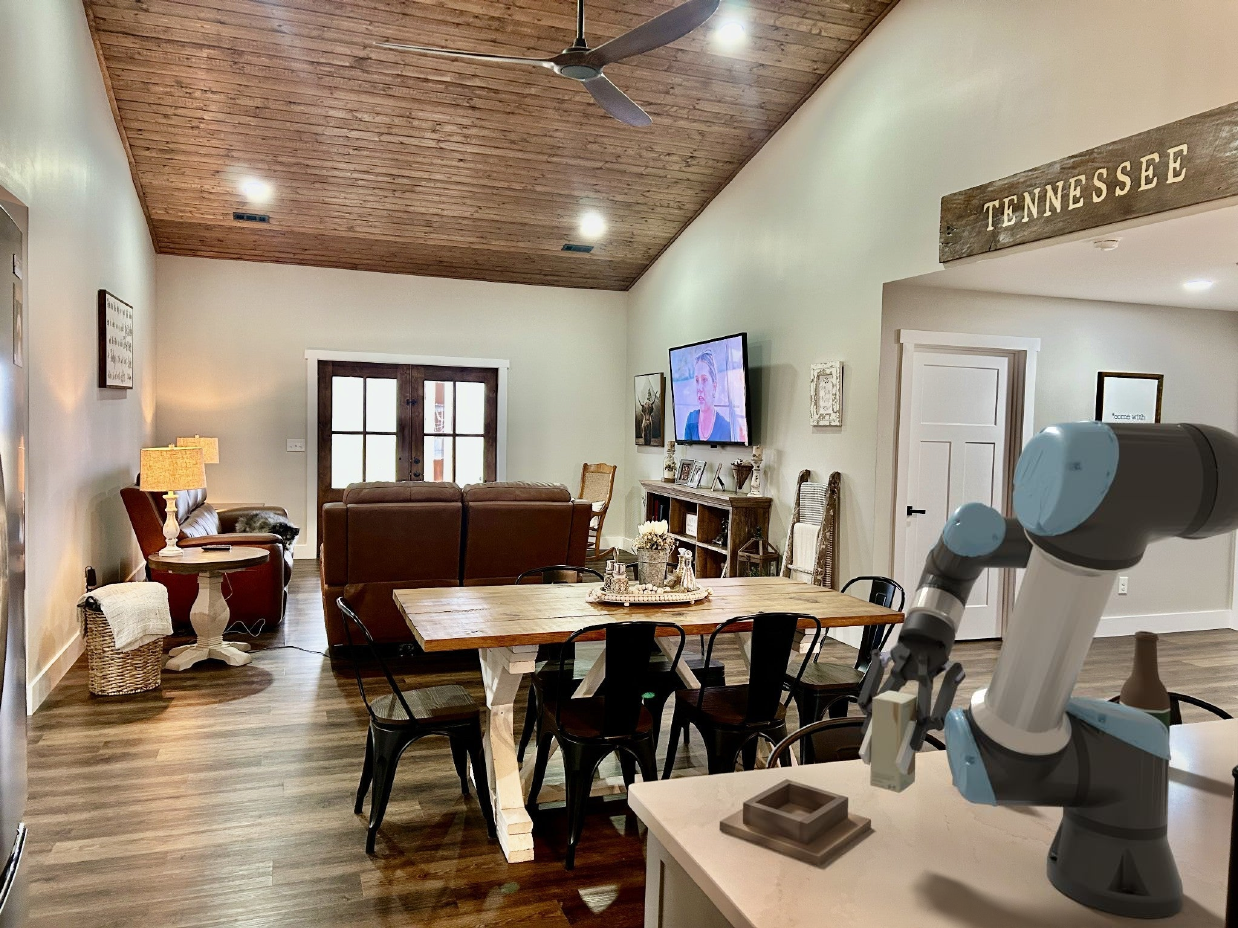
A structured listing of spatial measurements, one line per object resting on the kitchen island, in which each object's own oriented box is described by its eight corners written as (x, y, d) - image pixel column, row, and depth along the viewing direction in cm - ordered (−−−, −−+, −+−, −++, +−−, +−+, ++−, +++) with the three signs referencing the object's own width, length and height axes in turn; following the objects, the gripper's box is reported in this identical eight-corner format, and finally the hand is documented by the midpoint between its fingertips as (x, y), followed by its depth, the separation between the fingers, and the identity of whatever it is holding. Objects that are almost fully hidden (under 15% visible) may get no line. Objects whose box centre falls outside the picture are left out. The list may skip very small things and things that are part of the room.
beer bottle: (1168, 762, 156) (1171, 631, 155) (1169, 776, 149) (1172, 638, 149) (1118, 754, 160) (1121, 626, 160) (1117, 766, 153) (1120, 633, 153)
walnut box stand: (870, 827, 127) (871, 798, 126) (818, 865, 114) (819, 833, 114) (776, 797, 137) (776, 771, 137) (719, 829, 125) (720, 800, 125)
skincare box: (900, 794, 115) (902, 703, 115) (868, 786, 118) (870, 697, 118) (916, 781, 120) (918, 694, 120) (886, 773, 123) (888, 688, 123)
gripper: (996, 649, 125) (954, 794, 112) (882, 633, 136) (831, 762, 124) (985, 618, 121) (939, 764, 108) (867, 603, 132) (814, 734, 120)
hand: (882, 763), depth 116 cm, fingers closed on skincare box, 4 cm apart
